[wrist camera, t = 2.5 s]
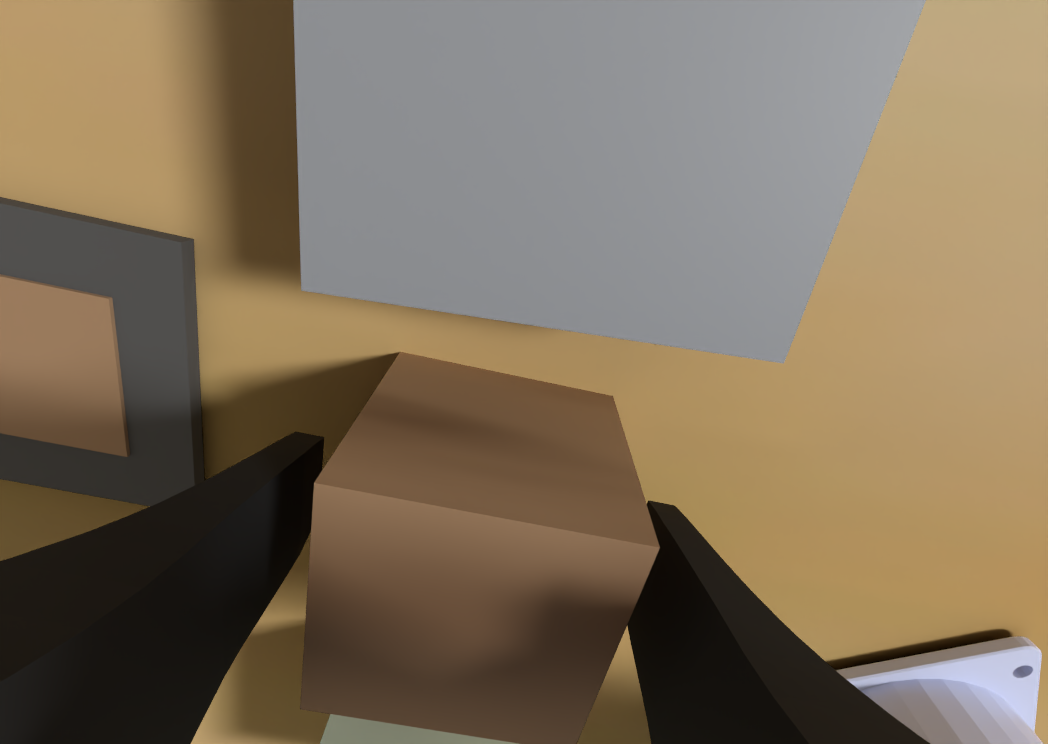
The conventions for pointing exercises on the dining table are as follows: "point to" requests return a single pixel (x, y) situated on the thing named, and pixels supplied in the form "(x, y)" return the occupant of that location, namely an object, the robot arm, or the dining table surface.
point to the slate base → (588, 157)
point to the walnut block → (473, 555)
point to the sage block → (390, 733)
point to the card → (97, 356)
